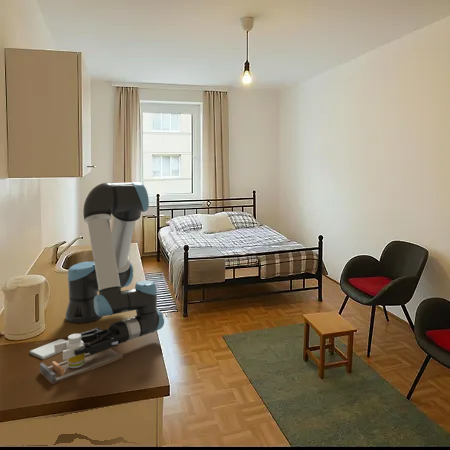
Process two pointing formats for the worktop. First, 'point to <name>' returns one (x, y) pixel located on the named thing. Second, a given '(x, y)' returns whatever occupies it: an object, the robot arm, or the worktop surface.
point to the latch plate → (58, 368)
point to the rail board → (90, 364)
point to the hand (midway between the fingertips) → (59, 352)
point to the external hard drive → (46, 350)
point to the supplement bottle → (79, 359)
